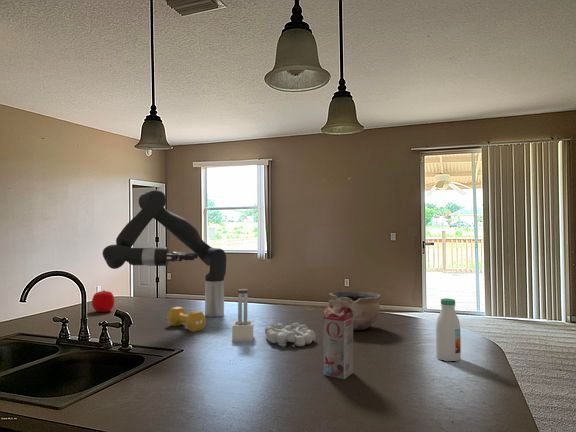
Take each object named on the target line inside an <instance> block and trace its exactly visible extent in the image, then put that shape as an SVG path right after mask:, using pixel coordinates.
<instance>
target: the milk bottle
mask: <svg viewBox="0 0 576 432" xmlns="http://www.w3.org/2000/svg"><path fill="white" fill-rule="evenodd" d="M440 306H441V309H440V312H439V315H438V316H437V319H436V325H435V326H436V327H435V328H436V329H435V357H436V358H437V359H438V360H440V361H442V360H444V361H443V362H448V361H456V362H459V361H461V357H462V356H461V355H462V354H461V353H462V351H461V349H462V348H461V347H462V346H461V343H462V342H461V339H462V338H461V323H460V319H459V317H458V315H457V313H456V309H455V307H456V300H455V299H453V298H448V297H447V298H444V297H443V298H441V299H440ZM458 360H459V361H458Z"/></svg>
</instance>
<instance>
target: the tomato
mask: <svg viewBox="0 0 576 432" xmlns="http://www.w3.org/2000/svg"><path fill="white" fill-rule="evenodd" d="M91 304H92V307H93V309H94V311H96V312H98V313H99V312H100V313H101V312H102V313H104V312H105V313H107V312H110V311H111V310H112V309H114V306H115V296H114V294H113V293H112V292H111V291H109V290H108V291H107V290H101V291H98V292H95V293H94V294H93V297H92V300H91Z"/></svg>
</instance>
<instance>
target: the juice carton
mask: <svg viewBox="0 0 576 432" xmlns="http://www.w3.org/2000/svg"><path fill="white" fill-rule="evenodd" d="M327 301H328V305H327V307H326V308H325V309H324V311H323V376H327V377H332V378H336V379H341V380H345V379H347V378H348V377H349V376H351V375H352V374H354V330H353V311H352V310H351V309H350V308H349V302H344V301H335V300H331V299H328V300H327Z"/></svg>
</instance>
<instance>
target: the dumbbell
mask: <svg viewBox="0 0 576 432" xmlns="http://www.w3.org/2000/svg"><path fill="white" fill-rule="evenodd" d="M206 318H207V317H206V316H205V313H203V311H200V310H197V311H196V310H195V311H191V312H189V314H187V312H186V310H185V309H184V307H181V306H174V307H171V308H170V309H169V311H168V313H167V316H166V319H167V322H168V323H169V325H170V326H172V327H179V326H182V325H184V324H185V326H186V327H187V329H188V331H190V332H191V333H196V332H200V331H202V330H203V329H204V327H205V324H206V322H207V319H206Z"/></svg>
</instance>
